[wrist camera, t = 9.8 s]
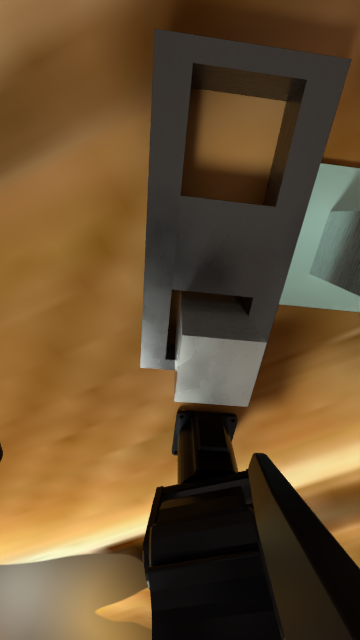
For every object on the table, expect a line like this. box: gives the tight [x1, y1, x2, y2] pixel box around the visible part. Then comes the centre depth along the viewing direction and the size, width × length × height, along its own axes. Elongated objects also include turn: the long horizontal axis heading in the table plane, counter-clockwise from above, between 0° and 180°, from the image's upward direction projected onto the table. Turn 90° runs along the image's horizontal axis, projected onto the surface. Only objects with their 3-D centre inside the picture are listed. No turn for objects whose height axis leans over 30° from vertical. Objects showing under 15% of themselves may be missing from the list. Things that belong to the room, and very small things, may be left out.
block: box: [174, 290, 267, 407], centre depth 17 cm, size 4×4×8 cm
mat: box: [279, 163, 360, 312], centre depth 18 cm, size 10×8×1 cm
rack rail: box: [140, 29, 351, 376], centre depth 17 cm, size 20×10×2 cm, turn 174°
